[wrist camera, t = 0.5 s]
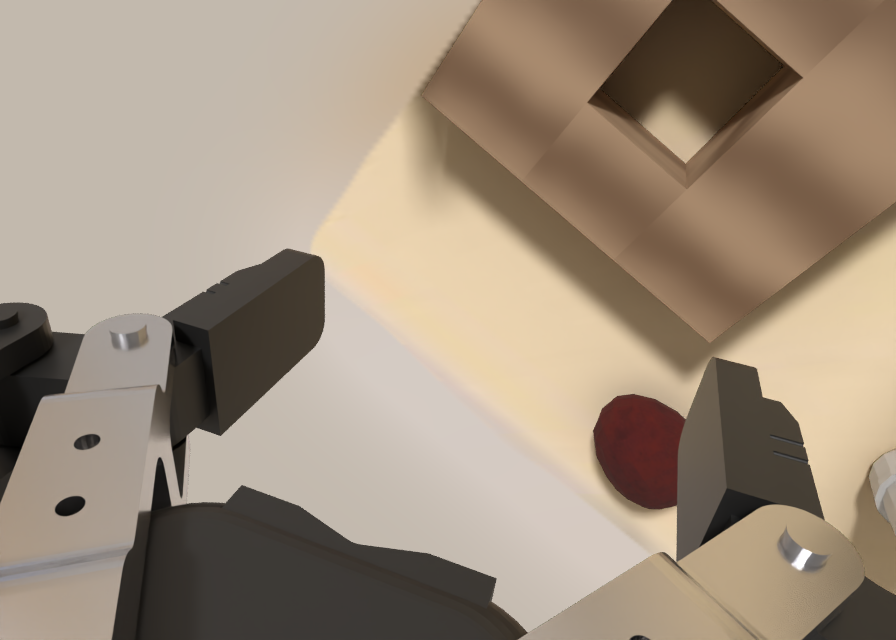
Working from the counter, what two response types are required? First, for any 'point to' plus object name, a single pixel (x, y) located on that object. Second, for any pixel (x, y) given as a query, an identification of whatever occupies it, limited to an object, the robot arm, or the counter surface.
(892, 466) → the pipe
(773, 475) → the robot arm
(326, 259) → the counter surface
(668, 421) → the potato
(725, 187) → the walnut socket block
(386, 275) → the counter surface
